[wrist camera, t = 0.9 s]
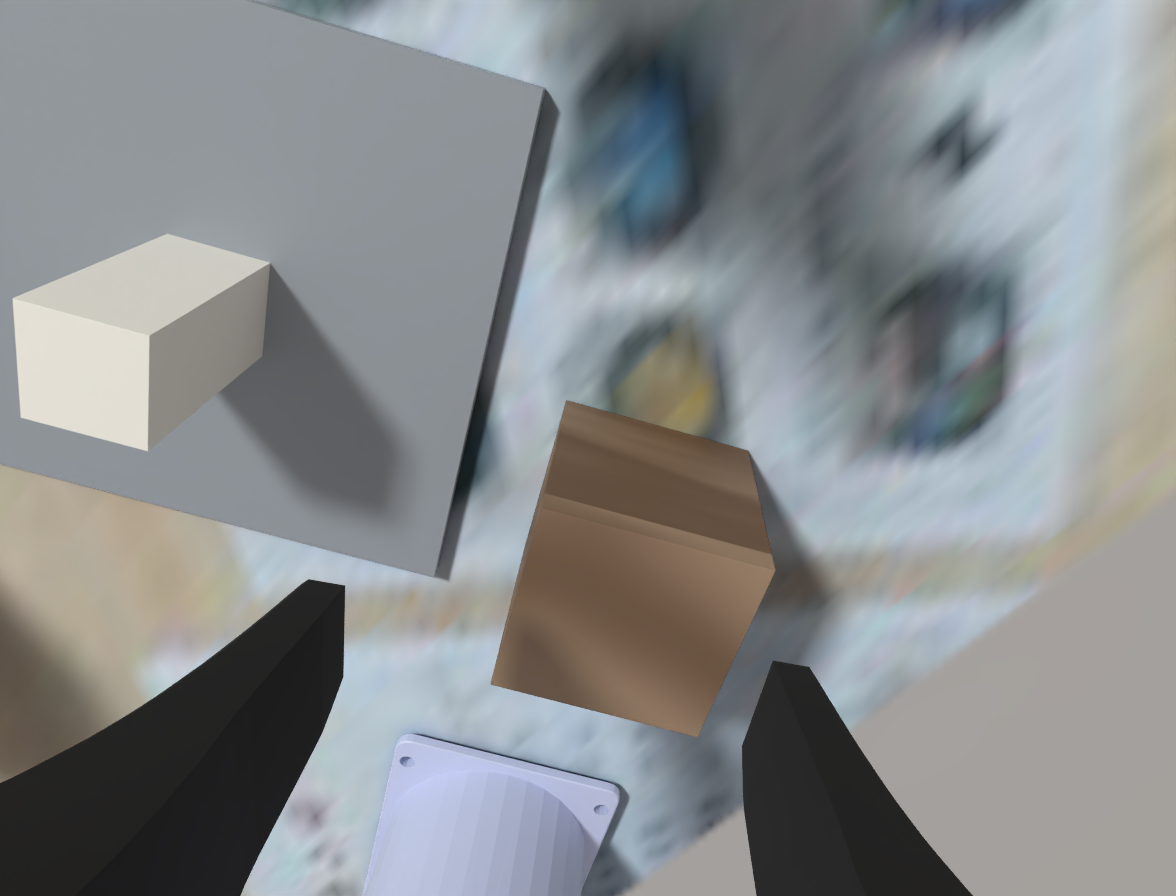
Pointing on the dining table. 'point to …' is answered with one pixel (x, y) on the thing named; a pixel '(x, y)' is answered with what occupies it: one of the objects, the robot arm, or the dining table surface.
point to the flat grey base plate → (251, 263)
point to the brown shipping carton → (636, 572)
